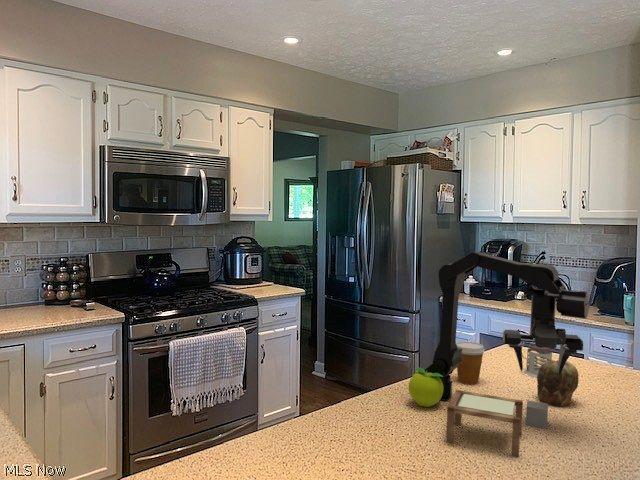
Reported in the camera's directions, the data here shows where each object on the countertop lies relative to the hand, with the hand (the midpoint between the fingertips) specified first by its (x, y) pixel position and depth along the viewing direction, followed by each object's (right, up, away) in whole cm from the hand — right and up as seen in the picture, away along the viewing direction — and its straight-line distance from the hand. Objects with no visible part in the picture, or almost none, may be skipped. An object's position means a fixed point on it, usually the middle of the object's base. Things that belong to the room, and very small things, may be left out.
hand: (540, 372), depth 132 cm
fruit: (-28, -12, +10) cm, 32 cm away
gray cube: (-1, -13, -1) cm, 13 cm away
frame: (-18, -13, -10) cm, 24 cm away
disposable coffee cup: (-10, -12, +32) cm, 35 cm away
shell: (+12, -13, +15) cm, 23 cm away
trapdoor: (-18, -6, -10) cm, 21 cm away
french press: (+17, -12, +41) cm, 45 cm away
